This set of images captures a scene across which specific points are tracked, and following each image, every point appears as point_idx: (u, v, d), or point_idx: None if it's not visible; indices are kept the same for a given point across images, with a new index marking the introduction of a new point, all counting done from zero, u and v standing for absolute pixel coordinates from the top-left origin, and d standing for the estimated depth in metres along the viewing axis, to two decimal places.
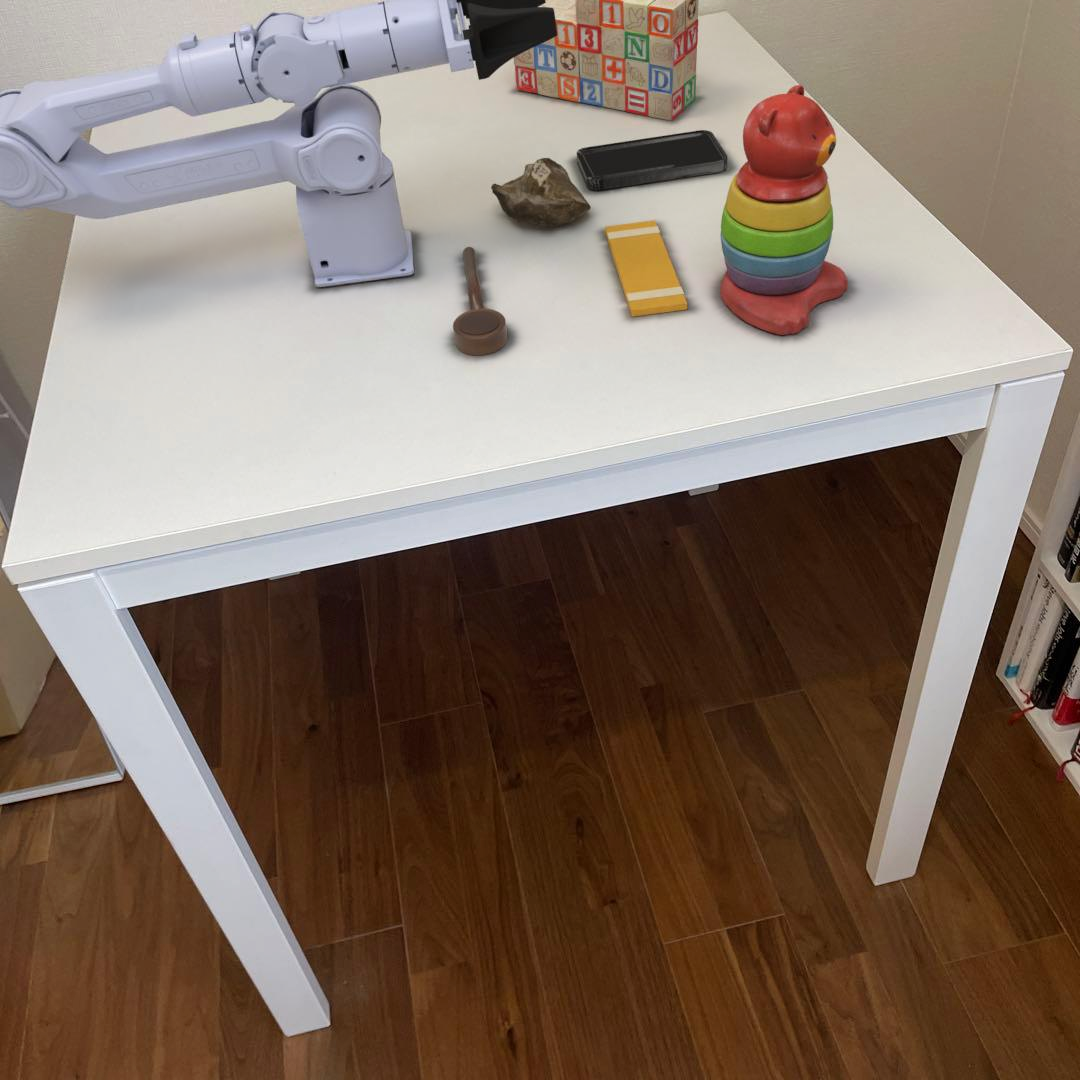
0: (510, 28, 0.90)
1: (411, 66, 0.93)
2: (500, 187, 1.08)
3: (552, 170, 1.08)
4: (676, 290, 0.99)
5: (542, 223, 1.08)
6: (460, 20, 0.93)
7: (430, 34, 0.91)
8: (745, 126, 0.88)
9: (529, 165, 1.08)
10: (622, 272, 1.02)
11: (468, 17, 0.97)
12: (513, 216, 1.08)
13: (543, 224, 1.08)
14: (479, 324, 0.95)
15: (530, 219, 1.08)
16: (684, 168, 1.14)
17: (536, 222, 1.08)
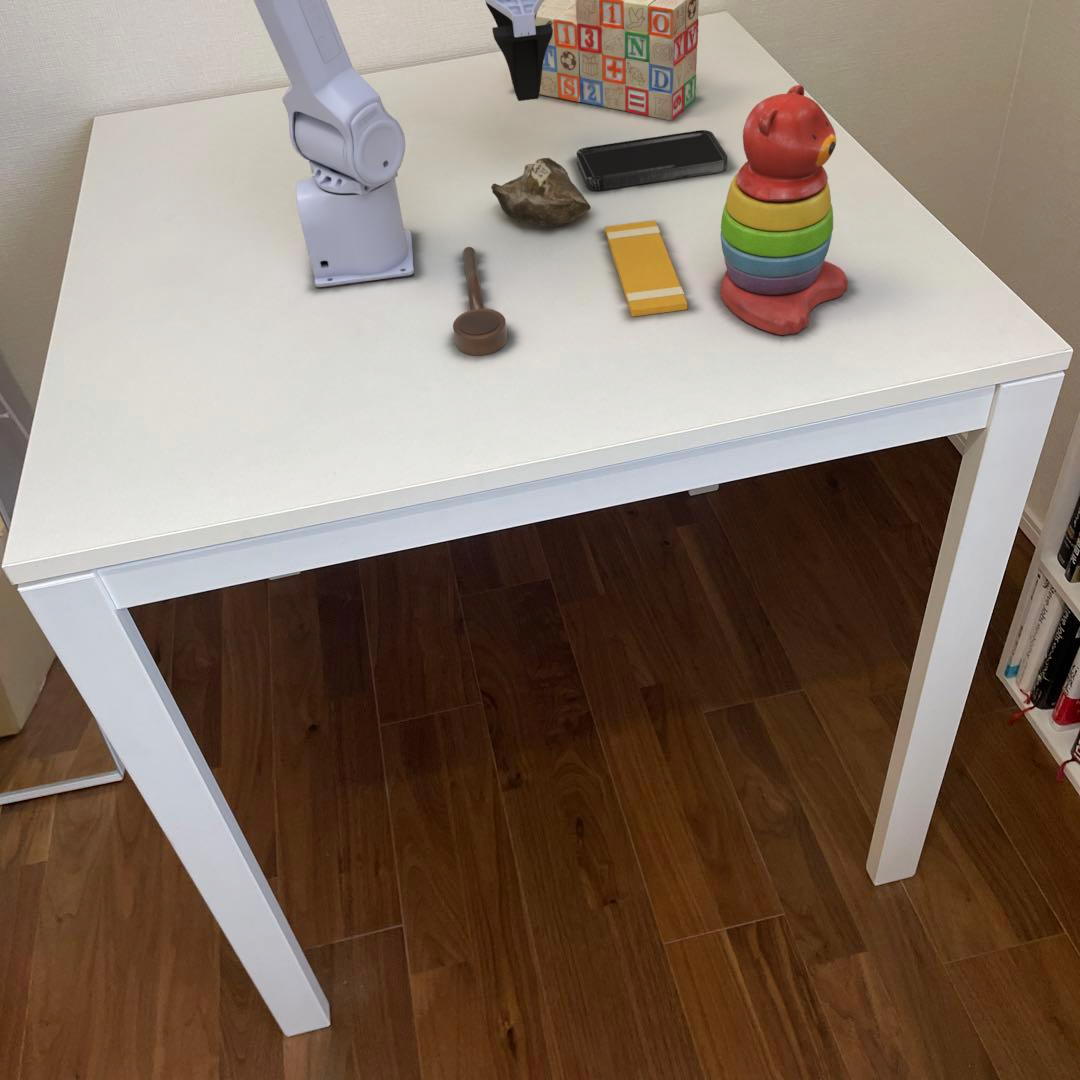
0: (529, 61, 1.06)
1: None
2: (500, 187, 1.08)
3: (552, 170, 1.08)
4: (676, 290, 0.99)
5: (542, 223, 1.08)
6: None
7: None
8: (745, 126, 0.88)
9: (529, 165, 1.08)
10: (622, 272, 1.02)
11: None
12: (513, 216, 1.08)
13: (543, 224, 1.08)
14: (479, 324, 0.95)
15: (530, 219, 1.08)
16: (684, 168, 1.14)
17: (536, 222, 1.08)
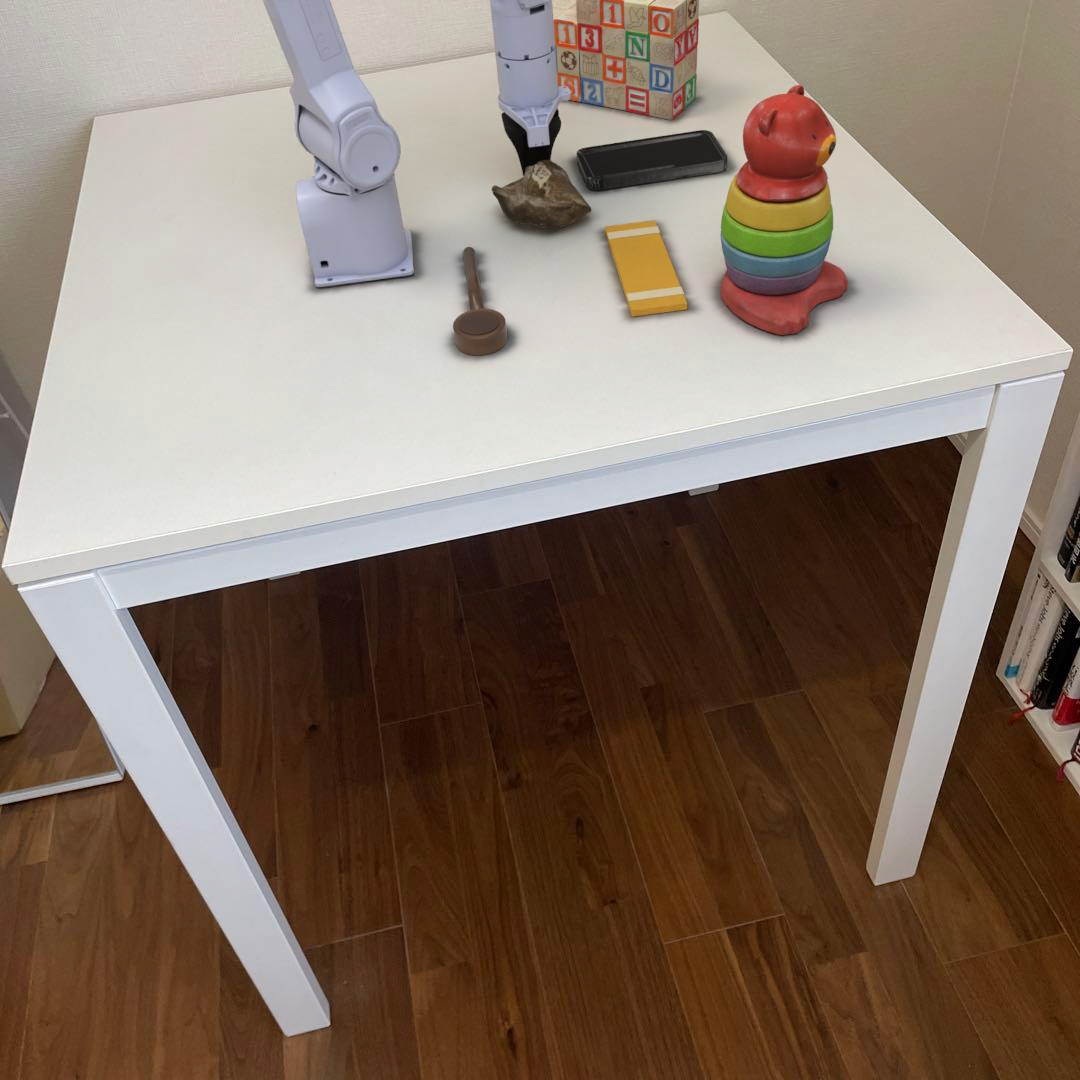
0: (538, 150, 1.10)
1: (508, 71, 1.03)
2: (500, 189, 1.08)
3: (552, 172, 1.07)
4: (676, 290, 0.99)
5: (542, 225, 1.08)
6: None
7: (538, 94, 1.04)
8: (745, 126, 0.88)
9: (529, 167, 1.08)
10: (622, 272, 1.02)
11: None
12: (513, 218, 1.08)
13: (543, 226, 1.08)
14: (479, 324, 0.95)
15: (530, 221, 1.07)
16: (684, 168, 1.14)
17: (536, 224, 1.08)
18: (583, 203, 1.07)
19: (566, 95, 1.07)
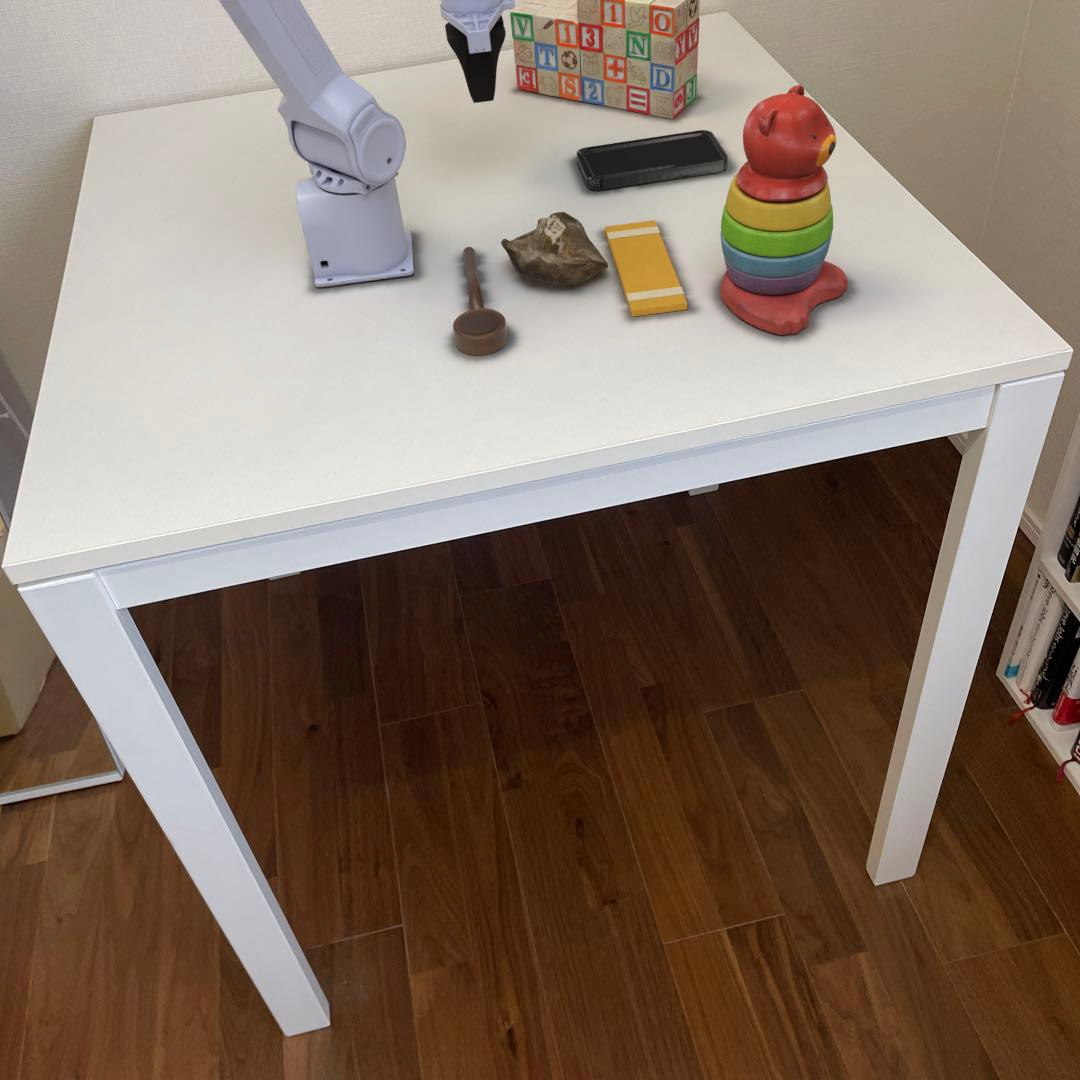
0: (483, 63, 1.07)
1: None
2: (511, 243, 1.01)
3: (567, 226, 1.00)
4: (676, 290, 0.99)
5: (555, 283, 1.00)
6: None
7: (479, 0, 1.01)
8: (745, 126, 0.88)
9: (542, 220, 1.01)
10: (622, 272, 1.02)
11: None
12: (524, 274, 1.01)
13: (556, 284, 1.00)
14: (479, 324, 0.95)
15: (542, 278, 1.00)
16: (684, 168, 1.14)
17: (549, 281, 1.00)
18: (599, 259, 1.00)
19: (510, 3, 1.03)
